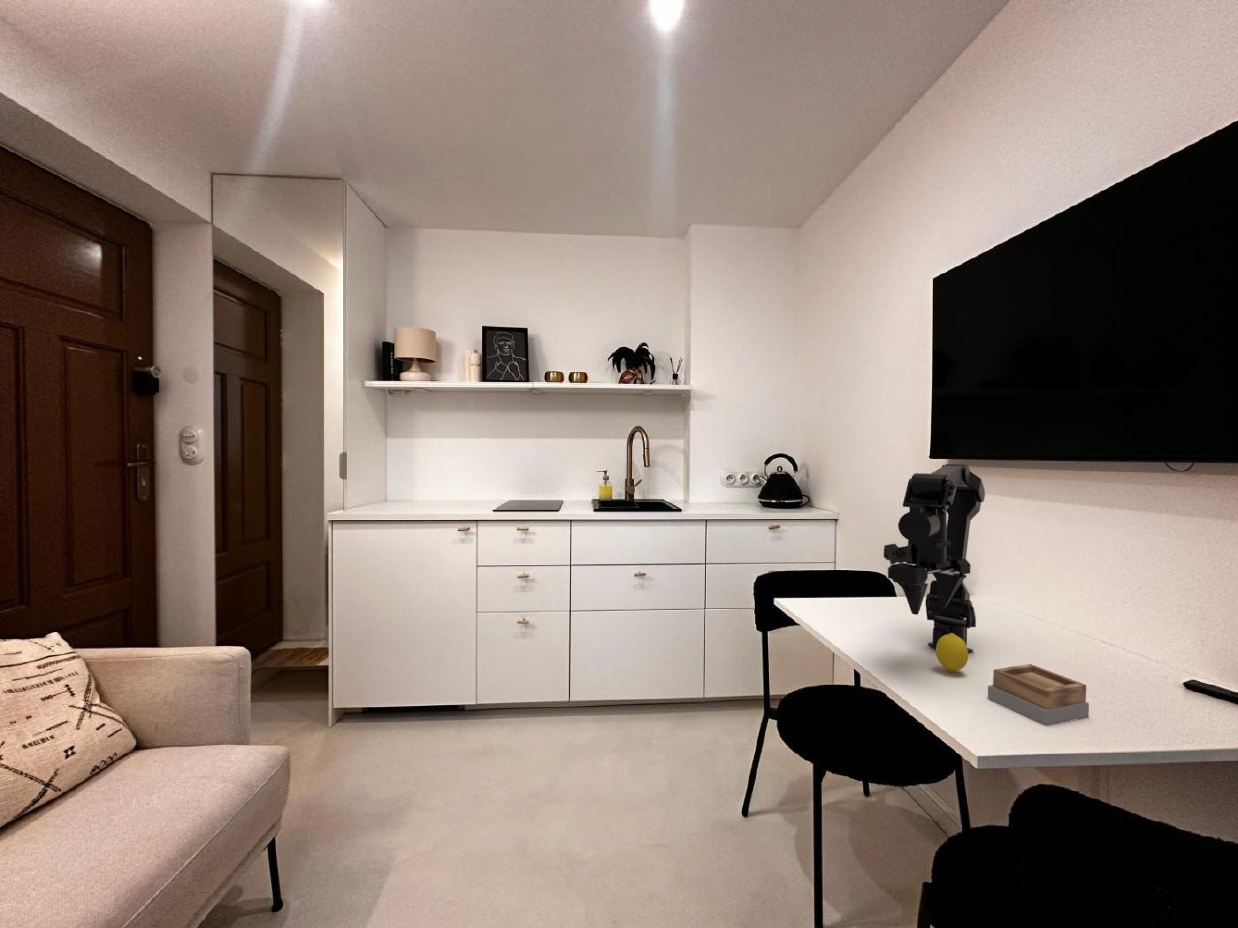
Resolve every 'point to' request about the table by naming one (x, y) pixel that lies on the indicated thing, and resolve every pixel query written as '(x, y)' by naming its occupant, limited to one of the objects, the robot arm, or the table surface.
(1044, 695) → the wooden tray
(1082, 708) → the bottom block
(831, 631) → the table surface
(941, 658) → the lemon
